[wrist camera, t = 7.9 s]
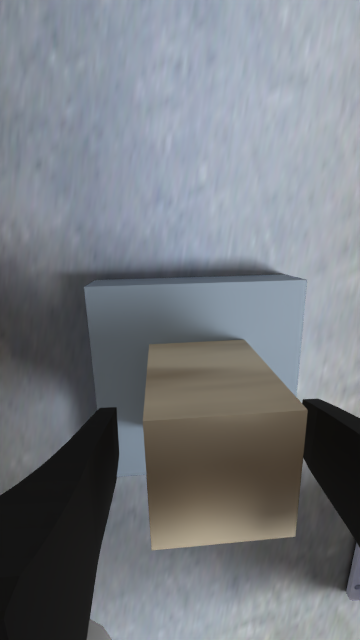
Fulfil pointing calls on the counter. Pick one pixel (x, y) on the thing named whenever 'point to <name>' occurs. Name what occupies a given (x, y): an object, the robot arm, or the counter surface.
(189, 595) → the counter surface
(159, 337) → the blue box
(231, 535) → the birch block
